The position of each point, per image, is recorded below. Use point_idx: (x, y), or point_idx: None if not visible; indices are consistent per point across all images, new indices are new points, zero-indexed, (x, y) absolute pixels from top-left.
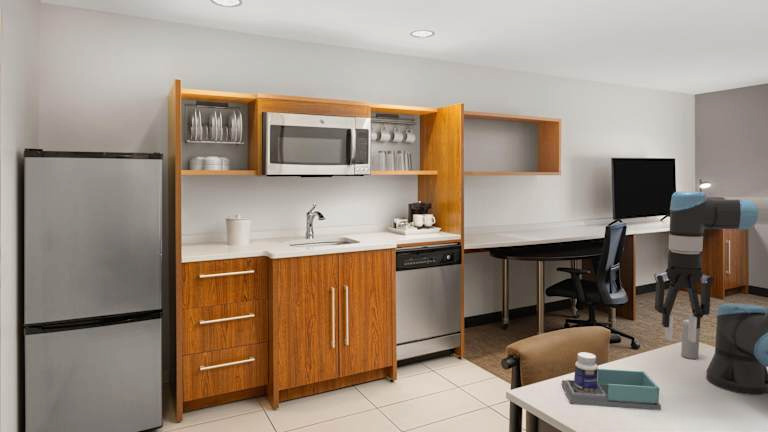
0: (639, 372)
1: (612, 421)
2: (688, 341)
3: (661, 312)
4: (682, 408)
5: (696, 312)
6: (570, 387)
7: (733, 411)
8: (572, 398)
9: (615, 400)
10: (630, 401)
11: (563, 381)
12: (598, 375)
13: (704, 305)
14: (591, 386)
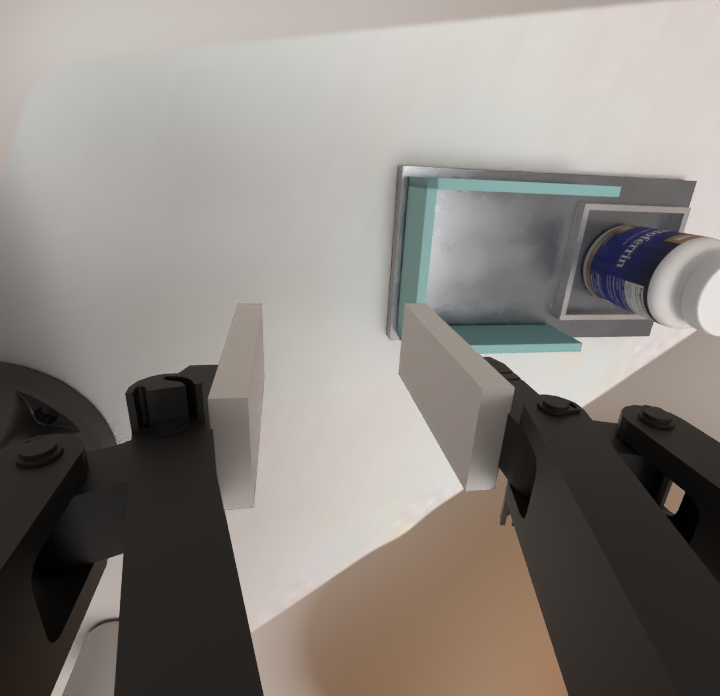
0: None
1: (614, 41)
2: (106, 687)
3: (629, 407)
4: (310, 193)
5: (204, 442)
6: None
7: (113, 192)
8: (688, 187)
9: None
10: None
11: (648, 327)
12: (566, 335)
13: (23, 548)
14: (637, 230)
